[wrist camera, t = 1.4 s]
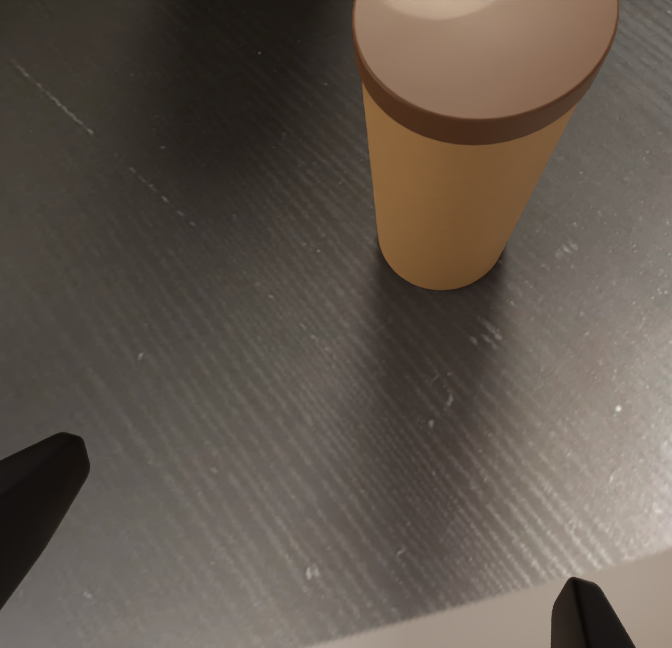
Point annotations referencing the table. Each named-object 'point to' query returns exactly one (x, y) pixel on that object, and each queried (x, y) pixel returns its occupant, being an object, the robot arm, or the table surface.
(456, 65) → the canister
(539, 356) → the table surface
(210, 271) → the table surface
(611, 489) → the table surface
